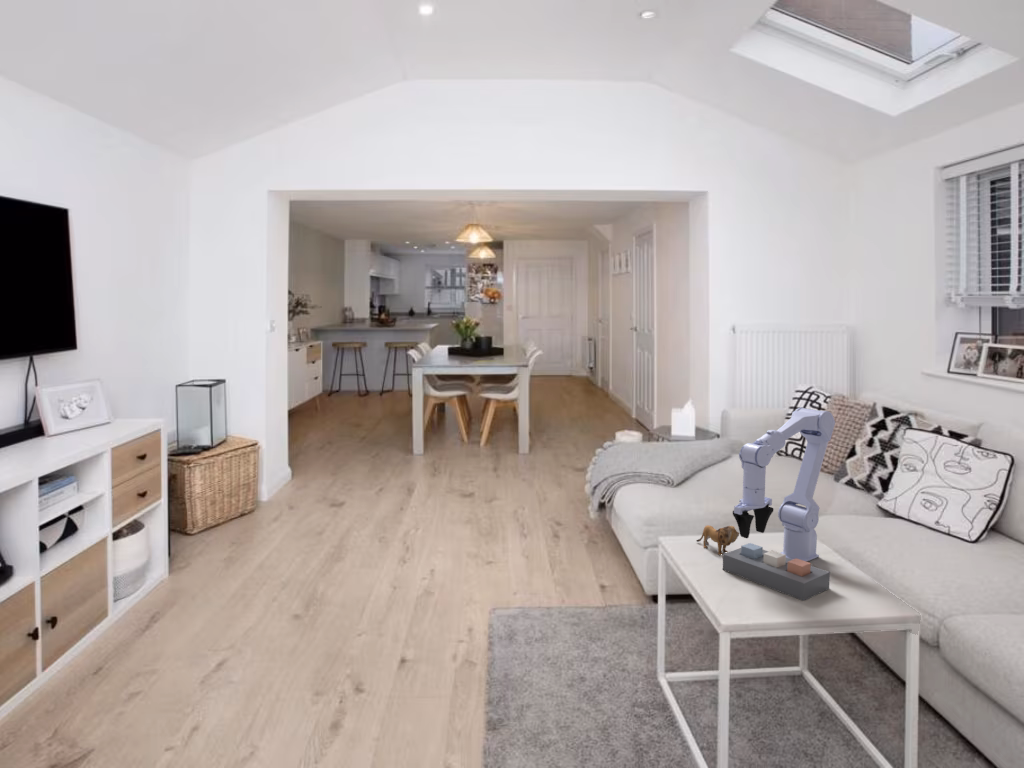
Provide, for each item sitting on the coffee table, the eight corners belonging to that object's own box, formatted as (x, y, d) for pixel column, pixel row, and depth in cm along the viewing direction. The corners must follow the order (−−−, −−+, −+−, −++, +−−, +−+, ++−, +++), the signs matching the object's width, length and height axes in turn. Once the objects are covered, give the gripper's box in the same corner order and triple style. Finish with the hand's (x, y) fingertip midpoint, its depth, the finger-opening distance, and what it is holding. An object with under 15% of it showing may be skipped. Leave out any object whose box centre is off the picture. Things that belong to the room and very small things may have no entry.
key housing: (748, 559, 184) (749, 544, 183) (829, 588, 164) (829, 572, 164) (722, 569, 177) (723, 554, 177) (803, 600, 158) (804, 583, 157)
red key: (795, 569, 167) (796, 558, 167) (810, 574, 164) (810, 563, 164) (787, 572, 165) (787, 561, 165) (801, 577, 162) (802, 566, 162)
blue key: (749, 553, 179) (750, 542, 179) (762, 557, 176) (762, 547, 175) (741, 556, 177) (741, 545, 176) (753, 560, 173) (754, 550, 173)
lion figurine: (741, 555, 188) (742, 526, 187) (730, 559, 185) (730, 529, 184) (701, 541, 200) (702, 513, 199) (690, 544, 197) (690, 516, 196)
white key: (772, 560, 173) (772, 550, 173) (785, 565, 170) (785, 554, 170) (763, 564, 171) (763, 553, 171) (776, 568, 168) (777, 558, 167)
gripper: (756, 479, 181) (755, 525, 183) (725, 488, 173) (723, 535, 175) (779, 485, 175) (777, 532, 177) (747, 493, 167) (746, 543, 169)
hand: (752, 534), depth 175 cm, fingers open, 7 cm apart
